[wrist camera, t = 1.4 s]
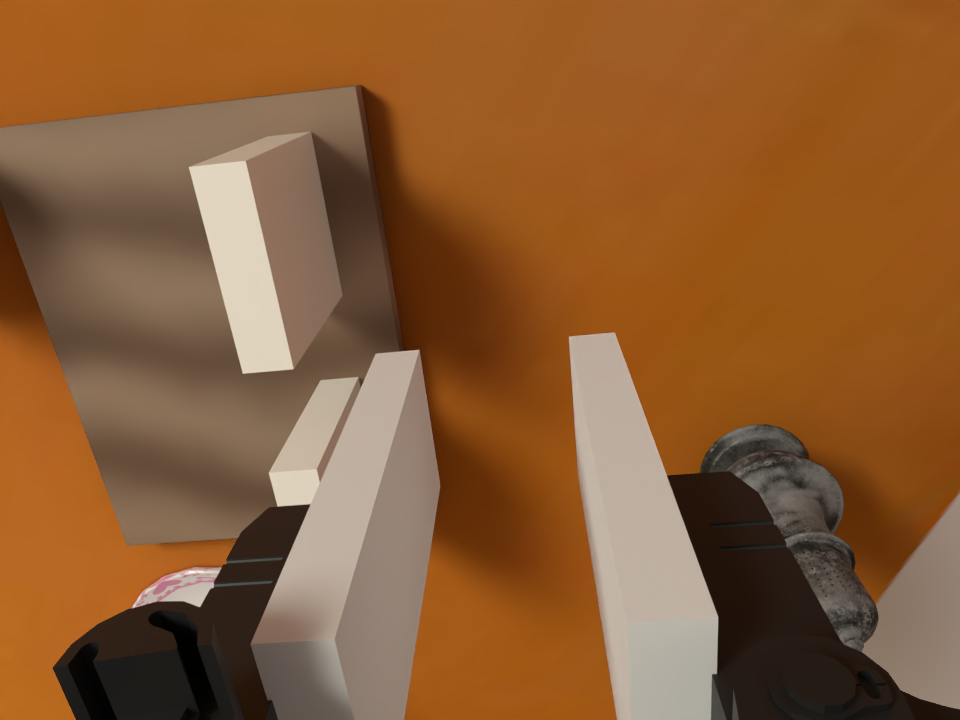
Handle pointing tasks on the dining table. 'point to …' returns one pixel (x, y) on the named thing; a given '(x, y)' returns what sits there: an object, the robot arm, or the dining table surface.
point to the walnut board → (185, 298)
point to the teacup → (181, 587)
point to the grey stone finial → (802, 519)
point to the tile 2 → (313, 442)
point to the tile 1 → (270, 247)
